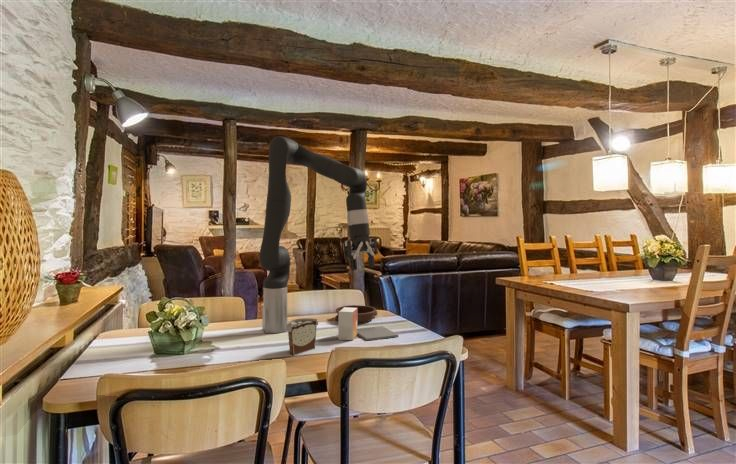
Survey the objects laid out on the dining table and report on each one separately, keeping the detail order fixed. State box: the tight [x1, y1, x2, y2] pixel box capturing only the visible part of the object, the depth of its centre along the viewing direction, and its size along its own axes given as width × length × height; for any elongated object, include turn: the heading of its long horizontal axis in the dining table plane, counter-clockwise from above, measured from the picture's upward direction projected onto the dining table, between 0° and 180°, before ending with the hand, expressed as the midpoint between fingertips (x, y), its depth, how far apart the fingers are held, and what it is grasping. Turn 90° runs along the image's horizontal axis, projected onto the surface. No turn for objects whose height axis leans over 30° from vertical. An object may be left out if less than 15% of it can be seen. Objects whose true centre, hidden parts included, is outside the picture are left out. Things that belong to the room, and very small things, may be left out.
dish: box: [334, 304, 378, 324], centre depth 185 cm, size 18×22×5 cm
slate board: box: [357, 325, 399, 342], centre depth 163 cm, size 13×14×1 cm
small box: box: [337, 307, 358, 341], centre depth 158 cm, size 8×6×10 cm
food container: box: [286, 317, 319, 356], centre depth 142 cm, size 12×6×10 cm, turn 141°
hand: (363, 268), depth 151 cm, fingers open, 8 cm apart
